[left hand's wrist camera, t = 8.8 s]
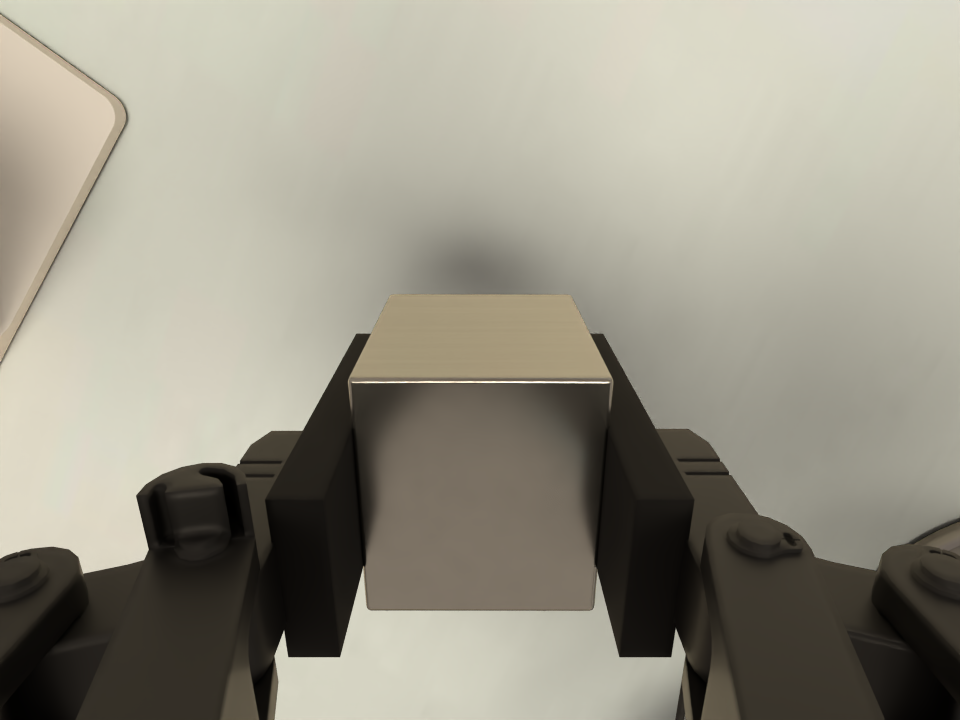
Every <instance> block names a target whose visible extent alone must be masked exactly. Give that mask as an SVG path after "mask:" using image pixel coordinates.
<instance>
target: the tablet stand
mask: <svg viewBox="0 0 960 720" xmlns="http://www.w3.org/2000/svg"><path fill="white" fill-rule="evenodd" d="M125 121H126V113H125V110H124V107H123V105H122V104H121V102H120V101H119V100H118V99H117V98H116V97H115V96H114V95H112V94H111V93H109V92H108V91H107V90H105V89H104V88H102V87H101V86H100V85H98V84H97V83H96V82H94V81H93V80H91V79H90V78H89V77H87V76H86V75H84V74H83V73H82V72H80V71H79V70H77V69H76V68H75V67H73V66H72V65H70V64H69V63H68V62H66V61H65V60H63V59H62V58H61V57H59V56H58V55H56V54H55V53H54V52H52V51H51V50H49V49H48V48H47V47H45V46H44V45H42V44H41V43H40V42H38V41H37V40H35V39H34V38H33V37H31V36H30V35H28V34H27V33H26V32H24V31H23V30H21V29H20V28H19V27H17V26H16V25H14V24H13V23H12V22H10V21H9V20H7V19H6V18H5V17H3V16H2V15H0V361H1V359H2V357H3V356H4V354H5V352H6V350H7V348H8V346H9V344H10V342H11V340H12V338H13V336H14V335H15V333H16V331H17V329H18V327H19V325H20V323H21V321H22V319H23V317H24V316H25V314H26V312H27V310H28V308H29V306H30V304H31V302H32V300H33V298H34V296H35V295H36V293H37V291H38V289H39V287H40V285H41V283H42V281H43V279H44V277H45V276H46V274H47V272H48V270H49V268H50V266H51V264H52V262H53V260H54V258H55V256H56V255H57V253H58V251H59V249H60V247H61V245H62V243H63V241H64V239H65V237H66V235H67V234H68V232H69V230H70V228H71V226H72V224H73V222H74V220H75V218H76V216H77V215H78V213H79V211H80V209H81V207H82V205H83V203H84V201H85V199H86V197H87V195H88V194H89V192H90V190H91V188H92V186H93V184H94V182H95V180H96V178H97V176H98V175H99V173H100V171H101V169H102V167H103V165H104V163H105V161H106V159H107V157H108V155H109V154H110V152H111V150H112V148H113V146H114V144H115V142H116V140H117V138H118V136H119V134H120V133H121V131H122V129H123V127H124V125H125Z"/></svg>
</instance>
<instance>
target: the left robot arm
mask: <svg viewBox="0 0 960 720" xmlns="http://www.w3.org/2000/svg"><path fill="white" fill-rule="evenodd" d="M370 335H371V334H356V336H355V337H354V339H353V341H352V343H351V345H350V346H349V348H348V350H347V352H346V354H345V355H344V357H343V359H342V361H341V363H340V365H339V366H338V368H337V370H336V372H335V374H334V375H333V377H332V379H331V381H330V383H329V384H328V386H327V388H326V390H325V392H324V393H323V395H322V397H321V399H320V401H319V403H318V404H317V406H316V408H315V410H314V412H313V413H312V415H311V417H310V419H309V421H308V422H307V424H306V426H305V428H304V430H303V431H271V432H269V433H268V434H266V435H265V436H264V437H262V438H261V439H259V440H258V441H256V442H255V443H253V444H252V445H251V446H250V447H249V449H248V450H247V452H246V453H245V454H244V456H243V457H242V459H241V460H240V464H238V465H237V466H236V467H235V466H231V465H227V464H223V463H201V464H196V465H190V466H185V467H181V468H178V469H175V470H173V471H170V472H167V473H165V474H162V475H160V476H159V477H157V478H156V479H154V480H152V481H151V482H149V483H147V484H146V485H145V486H144V487H143V488H142V490H141V491H140V492H139V493H138V494H137V495H136V497H137V502H138V506H139V510H140V514H141V518H142V523H143V527H144V531H145V535H146V539H147V543H148V548H149V551H148V553H147V555H146V558H145V560H143V561H139V562H136V563H132V564H128V565H124V566H119V567H114V568H109V569H104V570H100V571H95V572H90V573H85V574H83V572H82V569H81V565H80V562H79V558H78V557H77V556H76V555H75V554H74V553H73V552H71V551H70V550H68V549H63V548H57V547H45V548H34V549H28V550H23V551H20V552H18V553H17V552H16V553H13V554H10V555H7V556H4V557H3V558H1V559H0V720H274V719H275V709H276V700H277V690H278V676H277V670H276V663H275V657H274V655H275V652H276V650H277V647H278V645H279V642H280V639H281V637H282V634H283V631H285V638H286V645H287V651H288V657H340V655H341V651H342V647H343V643H344V640H345V636H346V632H347V628H348V624H349V620H350V616H351V612H352V608H353V604H354V600H355V597H356V593H357V589H358V585H359V581H360V577H361V573H362V569H363V556H362V544H361V532H360V520H359V508H358V496H357V484H356V472H355V460H354V448H353V436H352V426H351V414H350V401H349V389H348V379H349V377H350V375H351V373H352V371H353V369H354V367H355V365H356V363H357V361H358V359H359V357H360V355H361V353H362V351H363V349H364V347H365V345H366V343H367V341H368V339H369V337H370ZM591 336H592V338H593V340H594V342H595V344H596V346H597V348H598V350H599V352H600V354H601V356H602V358H603V360H604V362H605V364H606V366H607V368H608V370H609V372H610V374H611V376H612V379H613V381H614V382H613V393H612V405H611V417H610V428H609V429H608V440H607V452H606V464H605V476H604V488H603V499H602V511H601V523H600V535H599V547H598V559H597V571H598V575H599V579H600V582H601V586H602V590H603V594H604V598H605V602H606V606H607V610H608V614H609V618H610V622H611V626H612V629H613V633H614V637H615V641H616V645H617V649H618V653H619V657H671V655H672V648H673V642H674V635H675V628H676V629H677V632H678V635H679V637H680V640H681V642H682V645H683V648H684V650H685V653H686V657H685V663H684V669H683V676H682V682H681V688H680V694H679V701H678V707H677V713H676V720H684V717H685V718H686V720H960V522H958V523H955V524H952V525H950V526H947V527H945V528H943V529H940V530H938V531H936V532H934V533H932V534H930V535H928V536H927V537H925V538H923V539H921V540H920V541H918V542H916V543H915V544H904V545H899V546H893V547H890V548H889V549H888V550H887V551H886V552H884V553H883V554H882V556H881V560H880V563H879V567H878V570H877V571H874V570H869V569H864V568H859V567H854V566H849V565H844V564H839V563H834V562H830V561H827V560H823V559H819V558H815V556H814V554H813V552H812V549H811V548H810V547H809V545H808V544H807V542H806V541H805V540H804V538H803V537H802V536H801V535H799V534H798V533H797V532H795V531H794V530H792V529H791V528H790V527H788V526H787V525H785V524H782V523H780V522H778V521H775V520H773V519H771V518H768V517H764V516H759V515H758V513H757V512H756V511H755V509H754V508H753V506H752V505H751V503H750V502H749V500H748V499H747V497H746V496H745V495H744V493H743V492H742V490H741V489H740V487H739V486H738V484H737V483H736V482H735V480H734V479H733V477H732V476H731V475H729V471H728V470H727V468H726V467H725V466H724V464H723V463H722V462H720V458H719V457H718V455H717V454H716V452H715V451H714V450H713V448H712V447H711V445H710V444H709V443H708V442H707V441H705V440H704V439H702V438H701V437H699V436H698V435H696V434H695V433H693V432H692V431H690V430H689V429H655V427H654V425H653V423H652V421H651V420H650V418H649V416H648V414H647V412H646V411H645V409H644V407H643V405H642V403H641V401H640V400H639V398H638V396H637V394H636V392H635V391H634V389H633V387H632V385H631V383H630V382H629V380H628V378H627V376H626V374H625V373H624V371H623V369H622V367H621V365H620V363H619V362H618V360H617V358H616V356H615V354H614V353H613V351H612V349H611V347H610V345H609V344H608V342H607V340H606V338H605V336H604V334H591Z"/></svg>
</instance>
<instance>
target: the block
mask: <svg viewBox="0 0 960 720" xmlns="http://www.w3.org/2000/svg"><path fill="white" fill-rule="evenodd" d="M613 382H614V381H613V379H612V376H611V374H610V372H609V370H608V368H607V366H606V364H605V362H604V360H603V358H602V356H601V354H600V352H599V350H598V348H597V346H596V344H595V342H594V340H593V338H592V336H591V334H590V332H589V330H588V328H587V326H586V324H585V322H584V320H583V318H582V316H581V315H580V313H579V311H578V309H577V307H576V305H575V303H574V301H573V299H572V297H571V295H526V294H393V295H390V296H389V298H388V301H387V303H386V305H385V307H384V309H383V311H382V313H381V315H380V317H379V319H378V321H377V323H376V325H375V327H374V329H373V331H372V333H371V335H370V337H369V339H368V341H367V343H366V345H365V347H364V349H363V351H362V353H361V355H360V357H359V359H358V361H357V363H356V365H355V367H354V369H353V371H352V373H351V375H350V377H349V379H348V389H349V401H350V414H351V426H352V436H353V448H354V460H355V472H356V484H357V496H358V508H359V520H360V532H361V544H362V556H363V571H364V583H365V595H366V605H367V608H368V609H369V610H570V611H590V610H592V609H593V608H594V603H595V592H596V580H597V559H598V547H599V535H600V523H601V511H602V499H603V488H604V476H605V464H606V452H607V440H608V429H609V428H610V417H611V405H612V393H613Z"/></svg>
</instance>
